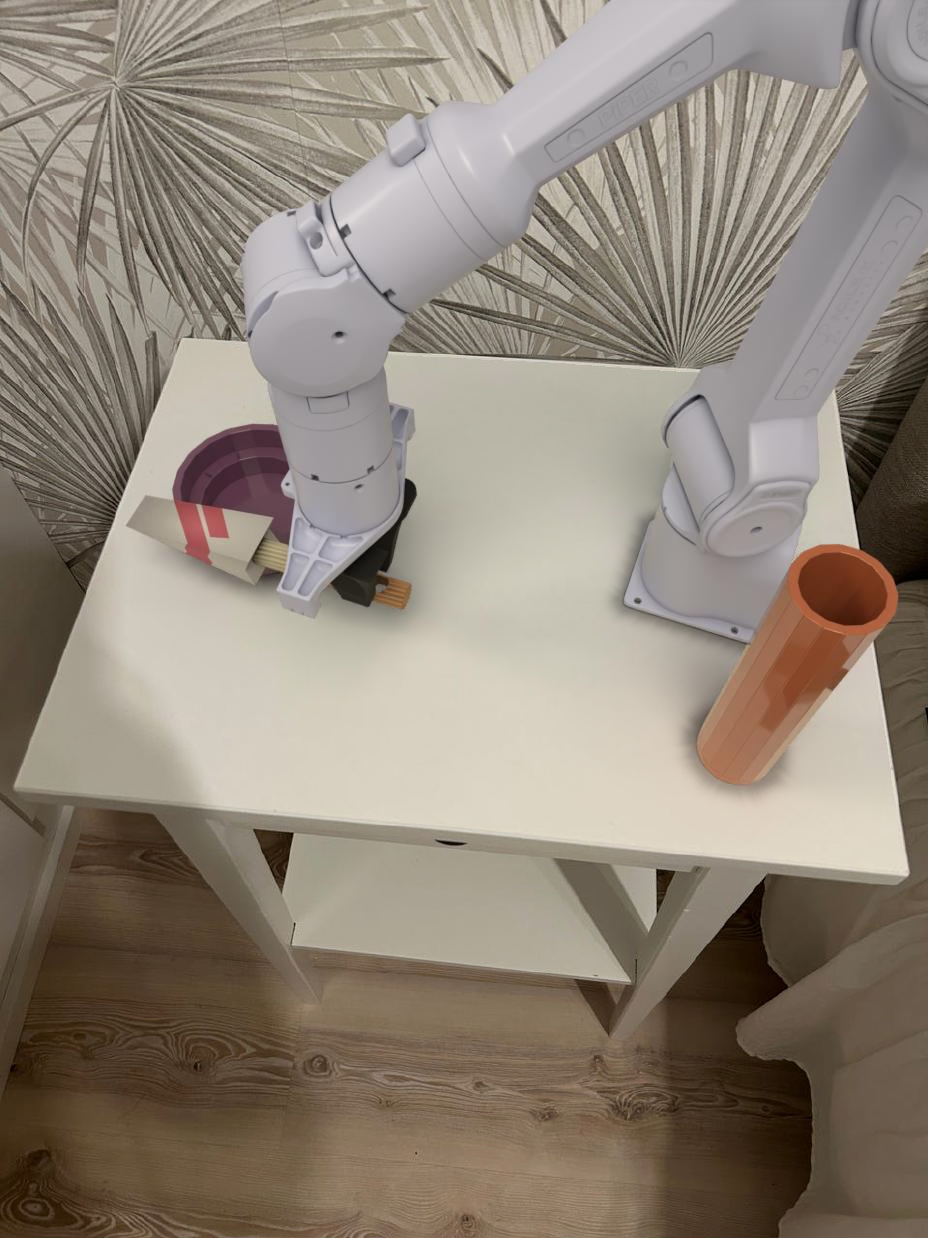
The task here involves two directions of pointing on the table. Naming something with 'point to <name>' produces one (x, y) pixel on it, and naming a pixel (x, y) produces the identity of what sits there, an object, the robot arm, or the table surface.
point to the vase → (796, 658)
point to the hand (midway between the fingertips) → (366, 581)
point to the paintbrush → (232, 541)
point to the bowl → (240, 476)
